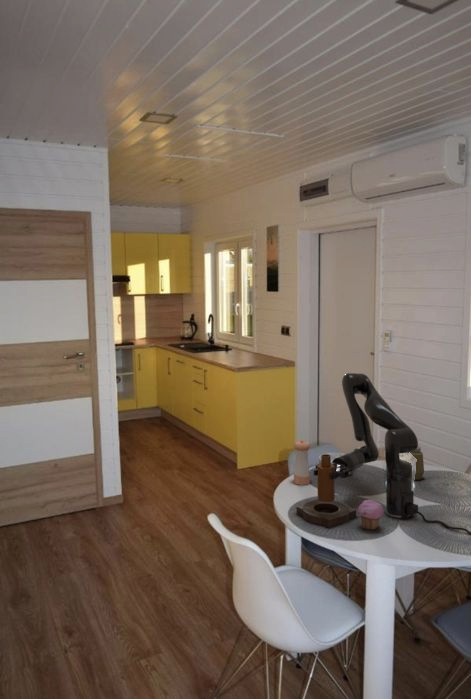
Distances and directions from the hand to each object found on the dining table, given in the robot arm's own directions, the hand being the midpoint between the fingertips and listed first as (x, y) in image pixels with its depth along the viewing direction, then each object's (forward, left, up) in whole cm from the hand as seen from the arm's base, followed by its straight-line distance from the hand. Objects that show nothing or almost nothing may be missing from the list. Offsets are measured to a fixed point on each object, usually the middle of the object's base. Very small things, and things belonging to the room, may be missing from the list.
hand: (322, 475), depth 217 cm
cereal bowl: (+32, -44, -17) cm, 57 cm away
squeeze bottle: (+3, -64, -17) cm, 66 cm away
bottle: (0, -2, -10) cm, 10 cm away
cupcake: (-18, -6, -17) cm, 25 cm away
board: (0, -2, -17) cm, 17 cm away
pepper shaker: (+33, -22, -17) cm, 43 cm away
